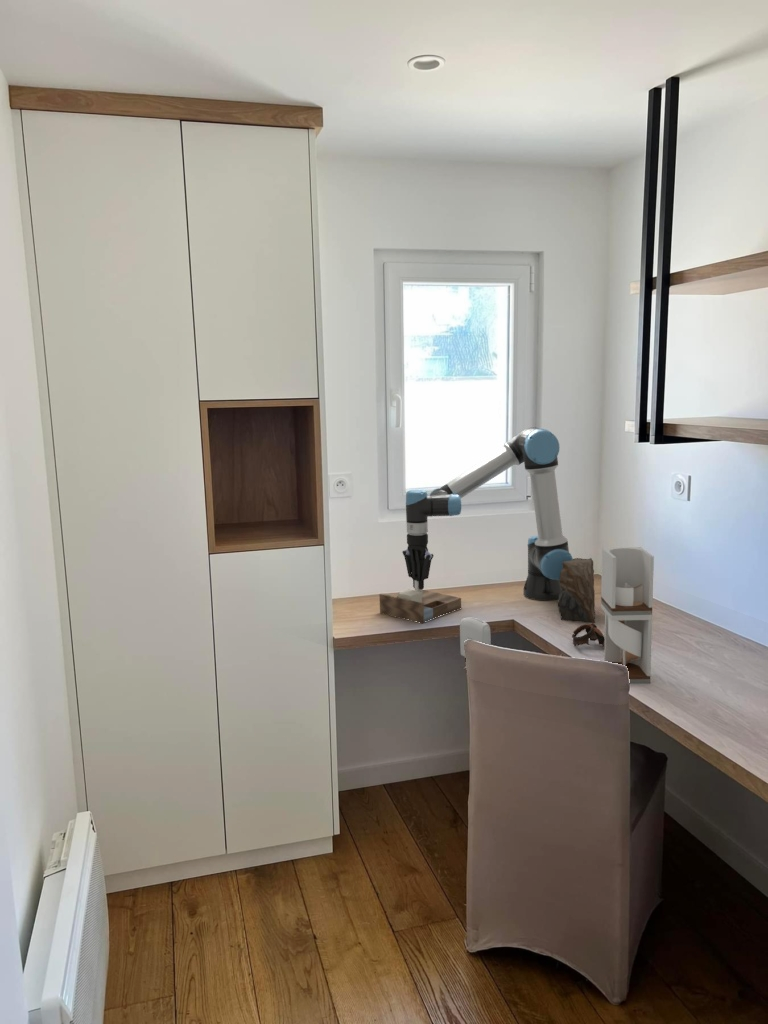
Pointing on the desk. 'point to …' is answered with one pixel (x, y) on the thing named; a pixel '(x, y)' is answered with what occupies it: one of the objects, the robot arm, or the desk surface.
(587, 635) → the brown curved openwork arch
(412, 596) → the cream block
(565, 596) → the brown rock
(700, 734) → the desk surface
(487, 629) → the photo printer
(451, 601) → the trap deck
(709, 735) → the desk surface
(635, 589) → the curved two-tier shelf
